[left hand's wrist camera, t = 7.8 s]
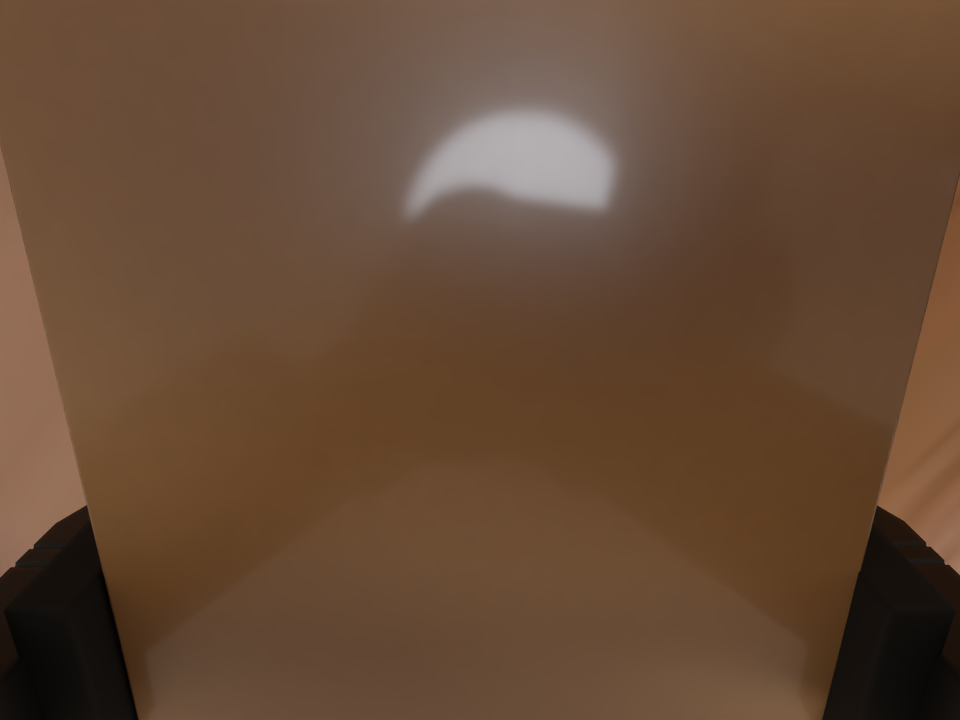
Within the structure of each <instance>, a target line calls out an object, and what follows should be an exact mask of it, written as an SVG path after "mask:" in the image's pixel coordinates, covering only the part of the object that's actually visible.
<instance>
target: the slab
mask: <svg viewBox="0 0 960 720" xmlns="http://www.w3.org/2000/svg"><path fill="white" fill-rule="evenodd" d="M0 145H1V149H2V153H3V157H4V161H5V166H6V170H7V174H8V178H9V182H10V186H11V191H12V195H13V199H14V203H15V207H16V211H17V216H18V220H19V224H20V228H21V232H22V236H23V241H24V245H25V249H26V253H27V257H28V261H29V266H30V270H31V274H32V278H33V282H34V286H35V291H36V295H37V299H38V303H39V307H40V312H41V316H42V320H43V324H44V328H45V332H46V337H47V341H48V345H49V349H50V353H51V357H52V362H53V366H54V370H55V374H56V378H57V382H58V387H59V391H60V395H61V399H62V403H63V407H64V412H65V416H66V420H67V424H68V428H69V432H70V437H71V441H72V445H73V449H74V453H75V457H76V462H77V466H78V470H79V474H80V478H81V482H82V487H83V491H84V495H85V499H86V503H87V508H88V512H89V516H90V520H91V524H92V528H93V533H94V537H95V541H96V545H97V549H98V553H99V558H100V562H101V566H102V570H103V574H104V578H105V583H106V587H107V591H108V595H109V599H110V603H111V608H112V612H113V616H114V620H115V624H116V628H117V633H118V637H119V641H120V645H121V649H122V653H123V658H124V662H125V666H126V670H127V674H128V678H129V683H130V687H131V691H132V695H133V699H134V703H135V708H136V712H137V716H138V720H822V719H823V715H824V711H825V707H826V703H827V699H828V695H829V691H830V686H831V682H832V678H833V674H834V670H835V666H836V662H837V658H838V654H839V650H840V646H841V642H842V638H843V634H844V630H845V626H846V622H847V617H848V613H849V609H850V605H851V601H852V597H853V593H854V589H855V585H856V581H857V577H858V573H859V572H860V571H861V567H862V563H863V559H864V555H865V551H866V547H867V543H868V539H869V535H870V531H871V527H872V523H873V519H874V515H875V511H876V507H877V503H878V499H879V495H880V491H881V487H882V483H883V479H884V475H885V471H886V467H887V463H888V459H889V455H890V451H891V447H892V443H893V439H894V435H895V431H896V427H897V423H898V419H899V415H900V411H901V407H902V403H903V399H904V395H905V391H906V387H907V383H908V379H909V375H910V371H911V367H912V363H913V359H914V355H915V351H916V347H917V343H918V339H919V335H920V331H921V327H922V323H923V319H924V315H925V311H926V307H927V303H928V299H929V295H930V291H931V287H932V283H933V279H934V275H935V271H936V267H937V263H938V259H939V255H940V251H941V247H942V243H943V239H944V235H945V231H946V227H947V223H948V219H949V215H950V212H951V208H952V204H953V200H954V196H955V192H956V188H957V184H958V180H959V176H960V0H0Z"/></svg>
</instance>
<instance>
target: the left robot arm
mask: <svg viewBox="0 0 960 720" xmlns="http://www.w3.org/2000/svg"><path fill="white" fill-rule="evenodd" d="M0 720H138V716H137V712H136V708H135V703H134V699H133V695H132V691H131V687H130V683H129V678H128V674H127V670H126V666H125V662H124V658H123V653H122V649H121V645H120V641H119V637H118V633H117V628H116V624H115V620H114V616H113V612H112V608H111V603H110V599H109V595H108V591H107V587H106V583H105V578H104V574H103V570H102V566H101V562H100V558H99V553H98V549H97V545H96V541H95V537H94V533H93V528H92V524H91V520H90V516H89V512H88V508H87V505H86V506H85V507H83V508H81V509H80V510H78V511H76V512H74V513H73V514H71V515H69V516H68V517H66V518H64V519H63V520H61V521H59V522H57V523H56V524H55V525H54V526H53V527H52V528H51V529H50V530H49V531H48V532H47V533H46V534H44V535H43V536H42V537H41V538H40V539H39V540H38V541H37V542H36V543H35V544H34V548H33V549H29V550H28V551H27V552H26V553H25V554H24V555H23V556H22V557H21V558H20V559H19V560H18V561H17V562H16V565H15V567H11V568H10V569H9V570H8V571H7V572H6V573H5V574H4V575H3V576H1V577H0ZM822 720H960V575H959V574H958V573H957V572H956V571H955V570H954V569H953V568H952V567H951V566H950V565H945V563H944V560H943V559H942V558H941V557H940V556H939V555H938V554H937V553H936V552H935V551H934V550H933V549H932V548H931V547H927V546H926V542H925V541H924V540H923V539H922V538H921V537H920V536H919V535H918V534H917V533H916V532H915V531H914V530H913V529H912V528H910V527H909V526H908V525H907V524H906V523H905V522H904V521H903V520H901V519H899V518H898V517H896V516H894V515H893V514H891V513H889V512H887V511H886V510H884V509H882V508H881V507H879V506H877V507H876V511H875V515H874V519H873V523H872V527H871V531H870V535H869V539H868V543H867V547H866V551H865V555H864V559H863V563H862V567H861V571H860V572H859V573H858V577H857V581H856V585H855V589H854V593H853V597H852V601H851V605H850V609H849V613H848V617H847V622H846V626H845V630H844V634H843V638H842V642H841V646H840V650H839V654H838V658H837V662H836V666H835V670H834V674H833V678H832V682H831V686H830V691H829V695H828V699H827V703H826V707H825V711H824V715H823V719H822Z"/></svg>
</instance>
